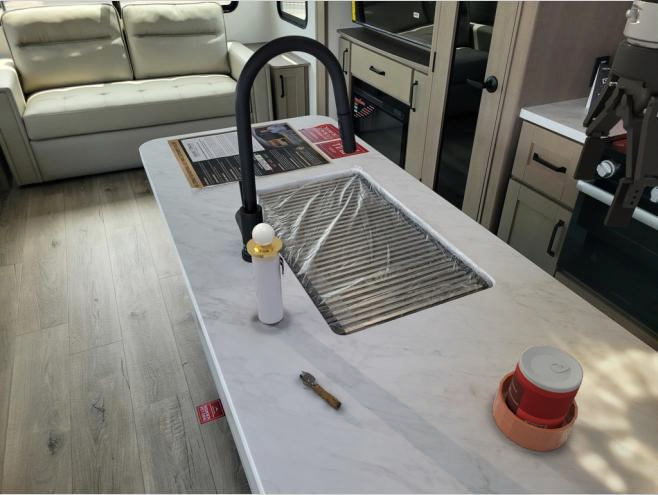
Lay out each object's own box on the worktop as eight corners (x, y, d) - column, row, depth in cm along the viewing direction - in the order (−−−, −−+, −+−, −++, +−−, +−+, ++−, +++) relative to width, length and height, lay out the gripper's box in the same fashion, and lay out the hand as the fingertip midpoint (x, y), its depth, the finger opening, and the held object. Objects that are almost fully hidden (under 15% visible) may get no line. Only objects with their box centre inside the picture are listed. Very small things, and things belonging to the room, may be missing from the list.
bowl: (557, 392, 73) (565, 373, 70) (577, 455, 64) (588, 435, 62) (487, 386, 74) (493, 366, 71) (499, 446, 65) (506, 426, 63)
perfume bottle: (261, 333, 83) (251, 238, 72) (250, 313, 87) (239, 220, 76) (292, 322, 85) (286, 229, 74) (280, 303, 89) (273, 212, 78)
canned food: (572, 430, 67) (597, 378, 61) (526, 449, 64) (548, 397, 58) (534, 389, 73) (553, 337, 66) (491, 405, 70) (507, 353, 64)
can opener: (342, 406, 71) (342, 401, 70) (330, 415, 69) (330, 410, 69) (305, 370, 76) (305, 365, 76) (293, 377, 75) (293, 372, 74)
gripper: (588, 21, 66) (548, 162, 78) (672, 67, 46) (600, 247, 58) (645, 23, 66) (595, 164, 78) (756, 70, 45) (665, 252, 57)
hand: (597, 200), depth 68 cm, fingers open, 13 cm apart
